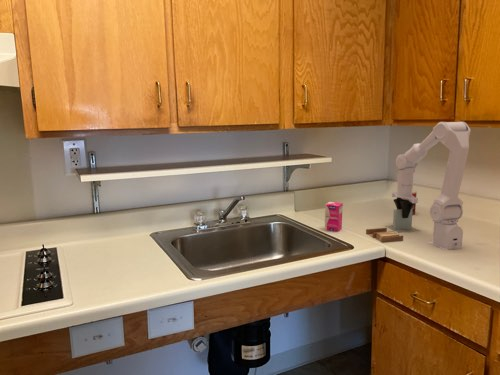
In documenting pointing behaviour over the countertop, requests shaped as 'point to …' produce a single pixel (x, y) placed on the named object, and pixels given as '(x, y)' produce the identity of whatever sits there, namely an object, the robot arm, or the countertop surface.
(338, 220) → the supplement box
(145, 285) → the countertop surface
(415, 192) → the canned food
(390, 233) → the upper offcut
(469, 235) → the countertop surface
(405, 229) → the rubber mat
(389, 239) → the walnut rack
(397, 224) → the grey square slab
